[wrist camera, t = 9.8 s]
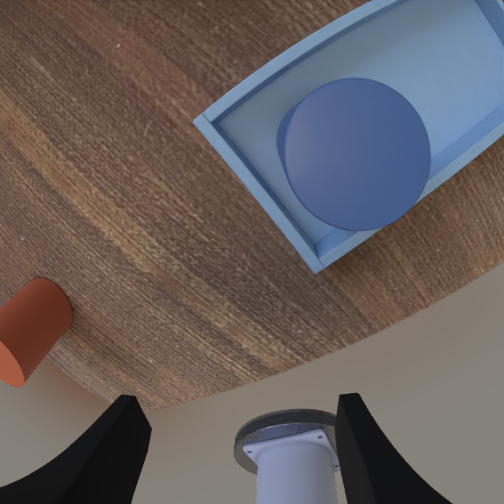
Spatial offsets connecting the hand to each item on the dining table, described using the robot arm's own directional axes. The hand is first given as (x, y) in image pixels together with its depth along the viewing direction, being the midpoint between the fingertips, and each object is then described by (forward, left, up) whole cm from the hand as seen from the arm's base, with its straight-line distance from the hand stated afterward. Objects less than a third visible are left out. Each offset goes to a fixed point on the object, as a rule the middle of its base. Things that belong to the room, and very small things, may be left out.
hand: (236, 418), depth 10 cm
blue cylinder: (+6, -7, -9) cm, 13 cm away
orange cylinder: (+4, +15, -9) cm, 18 cm away
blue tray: (+8, -12, -9) cm, 17 cm away
